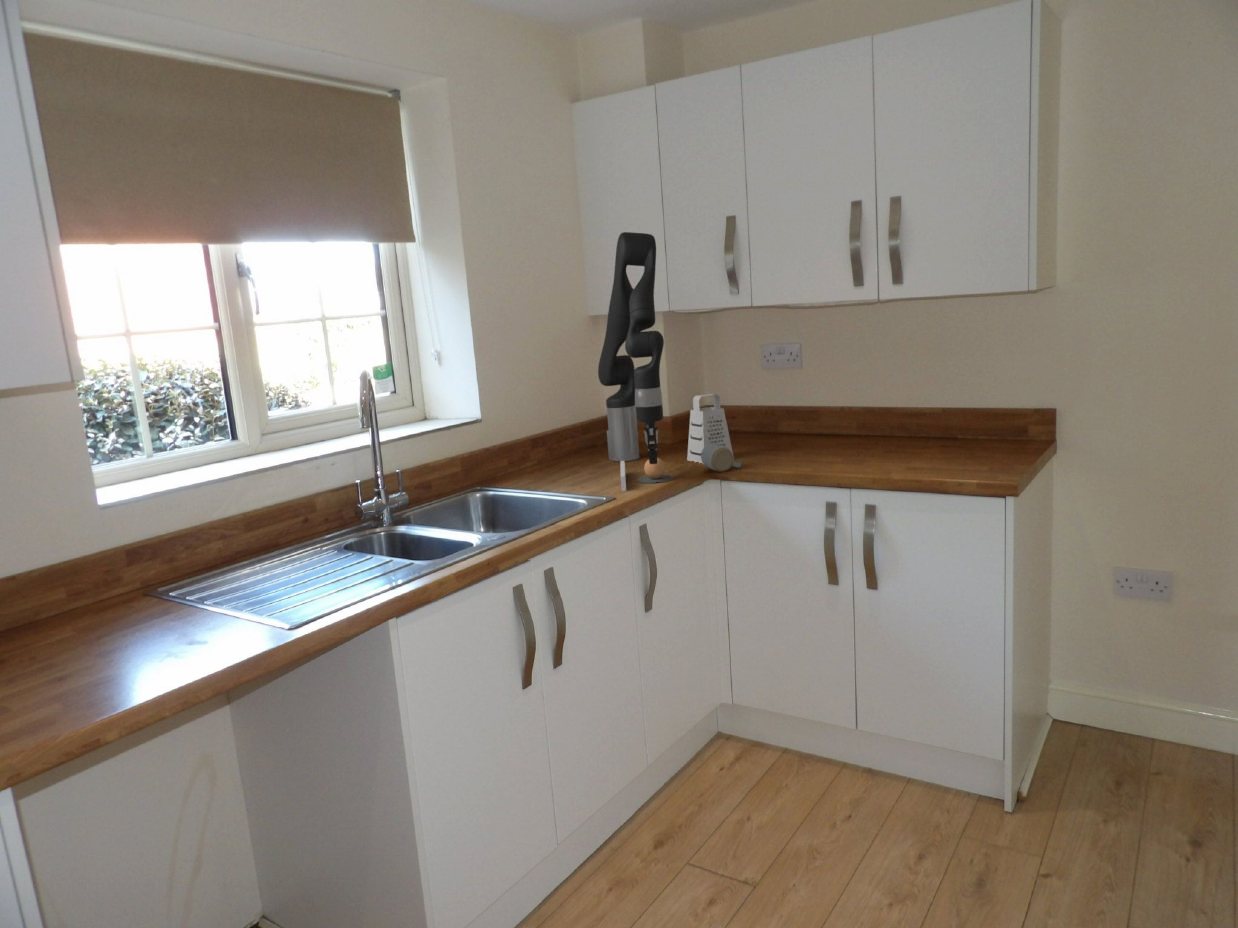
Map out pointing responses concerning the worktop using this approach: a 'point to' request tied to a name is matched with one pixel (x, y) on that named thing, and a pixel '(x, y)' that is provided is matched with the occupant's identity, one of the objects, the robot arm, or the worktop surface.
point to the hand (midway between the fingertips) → (653, 461)
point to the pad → (650, 480)
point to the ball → (655, 469)
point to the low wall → (623, 475)
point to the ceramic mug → (718, 457)
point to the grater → (706, 428)
